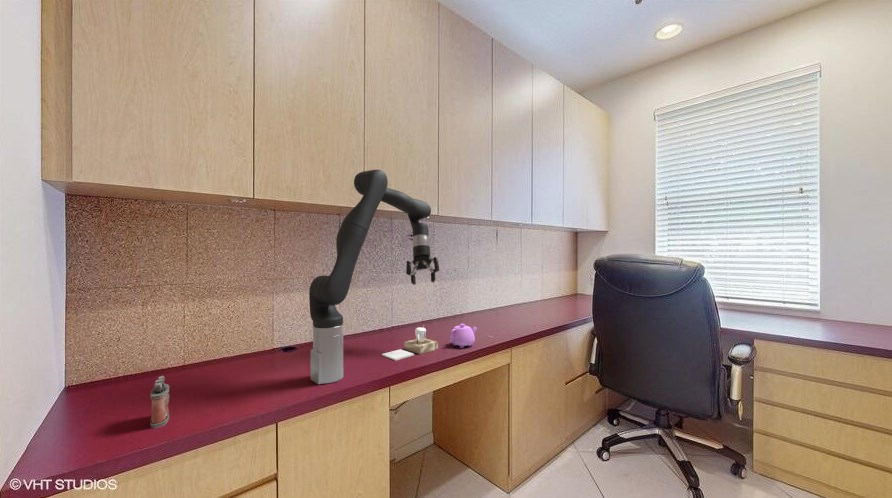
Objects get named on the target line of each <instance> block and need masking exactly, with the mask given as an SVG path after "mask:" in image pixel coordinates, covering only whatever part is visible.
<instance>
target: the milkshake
mask: <svg viewBox="0 0 892 498" xmlns="http://www.w3.org/2000/svg"><path fill="white" fill-rule="evenodd" d="M414 332H415V339H416V344H419V345H422V344H425V338H426V335H427V329H426V328H425V323H423V325H422V327H416V328H415V330H414Z"/></svg>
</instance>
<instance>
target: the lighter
mask: <svg viewBox="0 0 892 498" xmlns="http://www.w3.org/2000/svg"><path fill="white" fill-rule="evenodd" d="M165 380H166V379H165V376H164V375H161V376H158V378H157V379H156V380H155V382H154V385H153V386H154V387H153V388H152V390H151V391H150V392H149V393H150V400H151V418H150V425H149V426H150V429H157V428H161V427H164V426H165V425H166V424H167V423H168V422H169V419H170V411H169V402H170V393H169V392H170V385H169V384H168V383H165Z"/></svg>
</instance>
